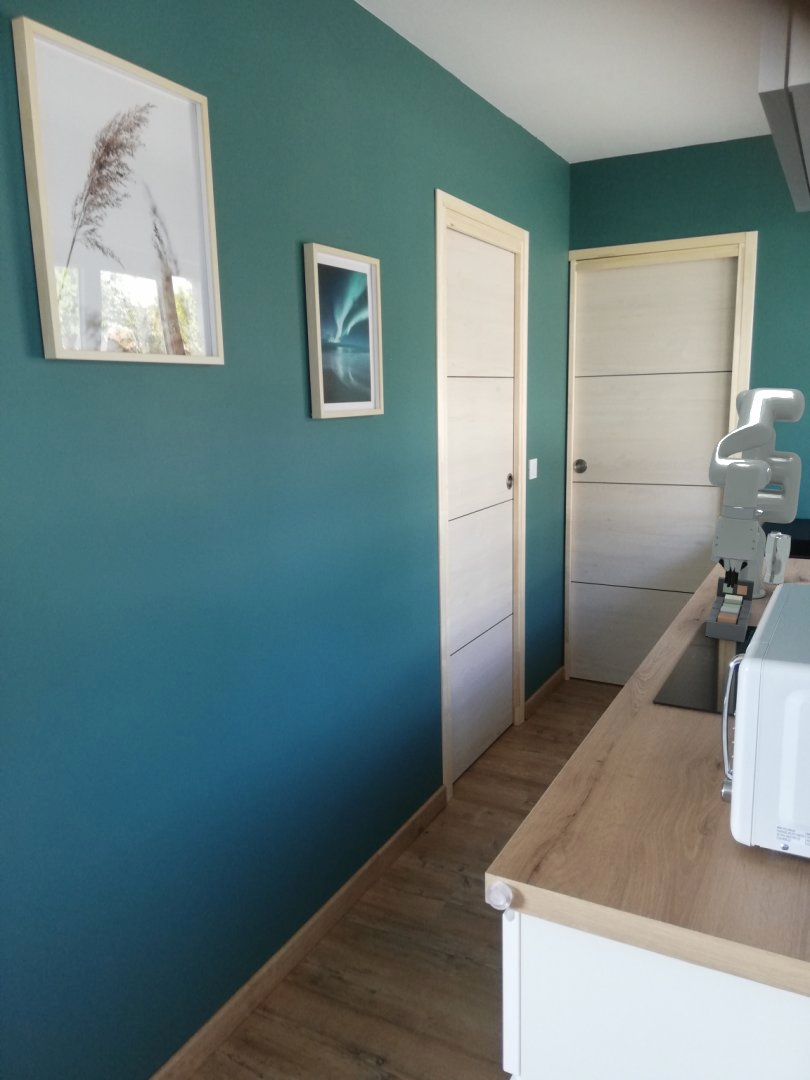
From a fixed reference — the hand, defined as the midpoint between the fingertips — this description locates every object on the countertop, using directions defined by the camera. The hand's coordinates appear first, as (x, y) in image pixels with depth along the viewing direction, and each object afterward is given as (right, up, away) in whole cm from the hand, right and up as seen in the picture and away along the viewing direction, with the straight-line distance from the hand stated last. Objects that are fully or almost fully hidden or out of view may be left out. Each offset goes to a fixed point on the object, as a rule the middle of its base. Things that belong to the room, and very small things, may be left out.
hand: (730, 586), depth 198 cm
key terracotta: (0, -9, +2) cm, 9 cm away
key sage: (+6, -8, +14) cm, 17 cm away
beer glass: (+35, -2, +54) cm, 64 cm away
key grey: (+3, -8, +8) cm, 12 cm away
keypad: (+5, -11, +12) cm, 17 cm away
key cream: (+8, -6, +19) cm, 21 cm away
